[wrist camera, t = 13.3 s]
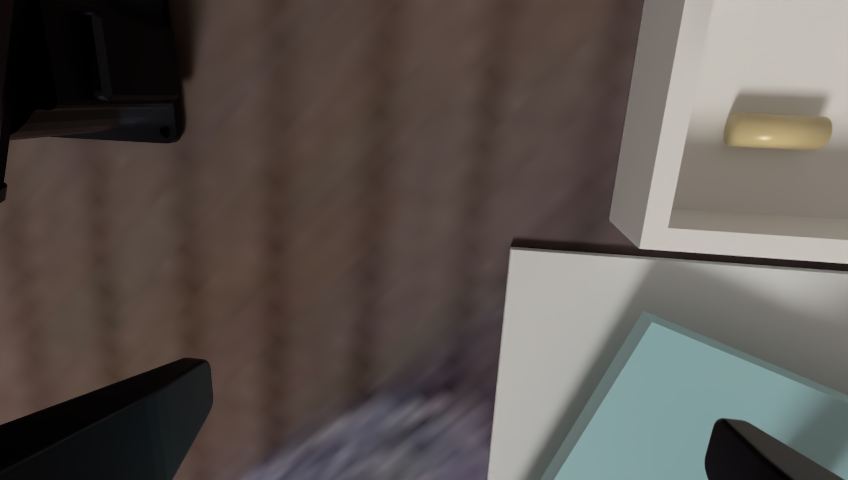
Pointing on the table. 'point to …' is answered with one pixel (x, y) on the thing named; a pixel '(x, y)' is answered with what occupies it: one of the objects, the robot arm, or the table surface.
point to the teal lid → (693, 409)
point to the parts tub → (738, 130)
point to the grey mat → (615, 318)
